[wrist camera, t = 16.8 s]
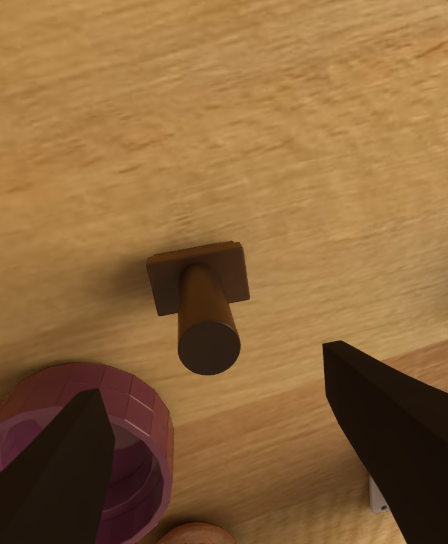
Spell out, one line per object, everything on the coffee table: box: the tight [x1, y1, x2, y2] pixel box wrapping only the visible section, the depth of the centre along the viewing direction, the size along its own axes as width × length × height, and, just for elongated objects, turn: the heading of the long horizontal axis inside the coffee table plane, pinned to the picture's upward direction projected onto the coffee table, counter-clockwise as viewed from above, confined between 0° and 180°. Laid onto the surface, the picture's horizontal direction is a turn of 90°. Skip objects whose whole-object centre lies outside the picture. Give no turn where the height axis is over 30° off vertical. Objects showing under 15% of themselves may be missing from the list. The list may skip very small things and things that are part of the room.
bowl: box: [0, 363, 174, 544], centre depth 22 cm, size 11×11×4 cm
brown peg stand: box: [146, 241, 250, 375], centre depth 17 cm, size 5×3×9 cm, turn 99°
